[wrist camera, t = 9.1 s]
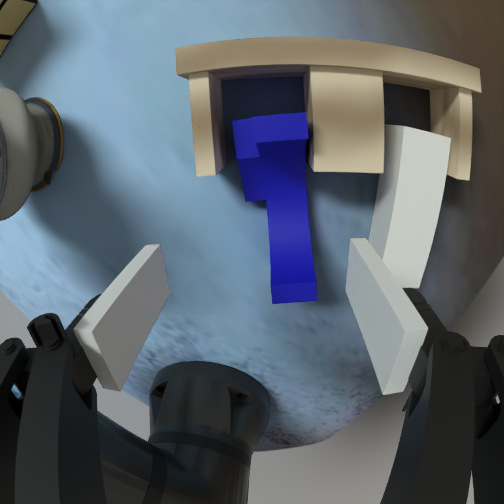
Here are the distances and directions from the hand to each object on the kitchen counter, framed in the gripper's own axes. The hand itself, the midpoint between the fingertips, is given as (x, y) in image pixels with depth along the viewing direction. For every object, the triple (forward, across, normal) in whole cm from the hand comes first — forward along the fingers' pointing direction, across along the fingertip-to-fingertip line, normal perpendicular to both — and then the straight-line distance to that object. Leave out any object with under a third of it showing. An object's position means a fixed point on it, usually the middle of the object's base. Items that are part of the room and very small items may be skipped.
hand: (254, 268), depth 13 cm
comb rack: (+10, -6, -8) cm, 14 cm away
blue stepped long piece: (+11, -1, -1) cm, 11 cm away
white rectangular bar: (+10, -11, 0) cm, 15 cm away
